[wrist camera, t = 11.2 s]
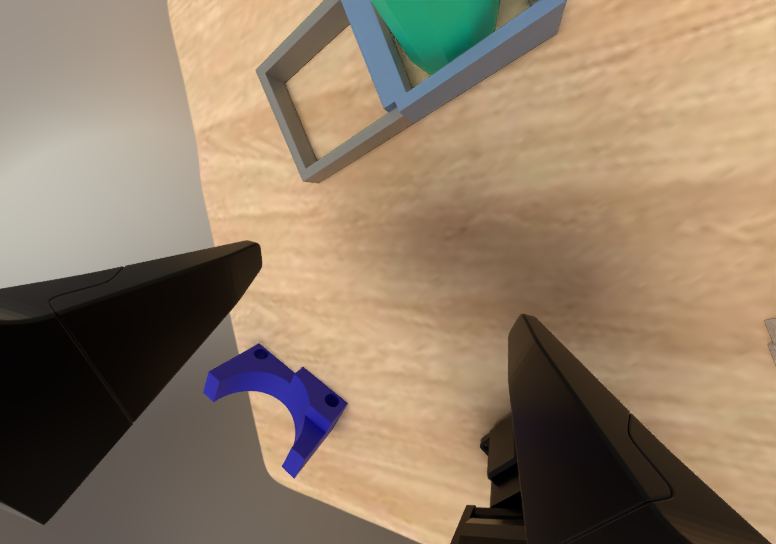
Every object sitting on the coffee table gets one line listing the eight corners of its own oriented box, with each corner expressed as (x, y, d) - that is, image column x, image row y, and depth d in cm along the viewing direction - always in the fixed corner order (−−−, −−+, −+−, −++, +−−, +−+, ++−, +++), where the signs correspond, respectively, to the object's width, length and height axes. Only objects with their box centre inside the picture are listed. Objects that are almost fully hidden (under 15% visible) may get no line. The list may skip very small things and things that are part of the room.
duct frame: (504, -136, 15) (503, -246, 11) (561, 30, 15) (579, -24, 12) (275, 80, 23) (231, 57, 19) (318, 183, 23) (284, 179, 20)
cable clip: (348, 402, 28) (310, 449, 23) (332, 428, 30) (294, 478, 24) (263, 333, 31) (211, 360, 25) (253, 361, 32) (203, 392, 27)
